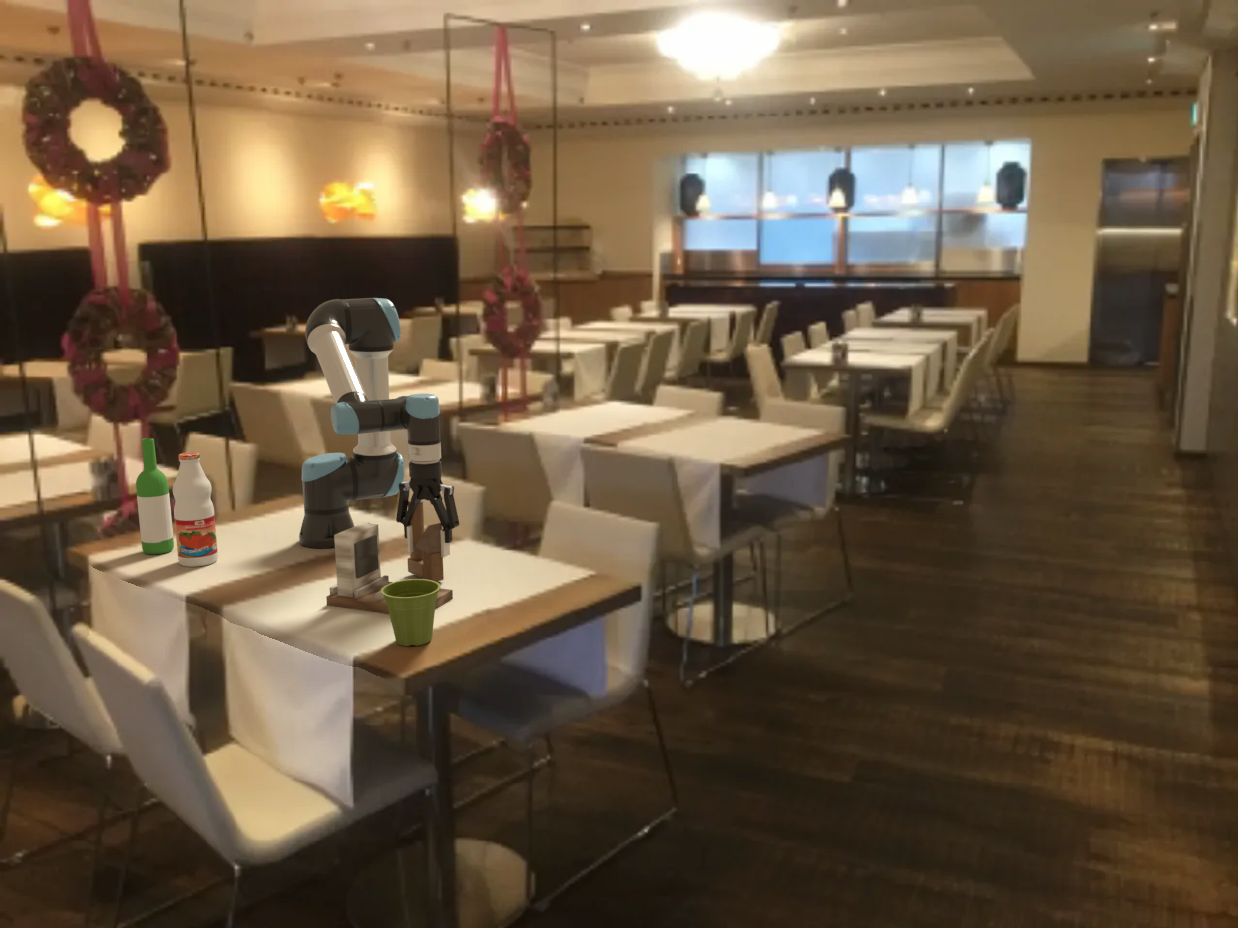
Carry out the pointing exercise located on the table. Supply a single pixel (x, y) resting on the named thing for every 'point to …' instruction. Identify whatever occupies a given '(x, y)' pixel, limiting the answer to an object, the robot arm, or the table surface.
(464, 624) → the table surface
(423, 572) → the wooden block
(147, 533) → the wine bottle
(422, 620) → the plant pot
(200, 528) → the fruit juice
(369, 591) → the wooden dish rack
